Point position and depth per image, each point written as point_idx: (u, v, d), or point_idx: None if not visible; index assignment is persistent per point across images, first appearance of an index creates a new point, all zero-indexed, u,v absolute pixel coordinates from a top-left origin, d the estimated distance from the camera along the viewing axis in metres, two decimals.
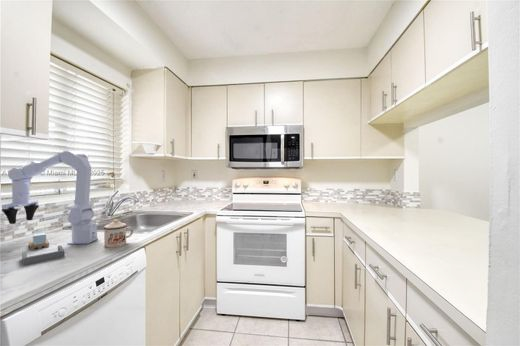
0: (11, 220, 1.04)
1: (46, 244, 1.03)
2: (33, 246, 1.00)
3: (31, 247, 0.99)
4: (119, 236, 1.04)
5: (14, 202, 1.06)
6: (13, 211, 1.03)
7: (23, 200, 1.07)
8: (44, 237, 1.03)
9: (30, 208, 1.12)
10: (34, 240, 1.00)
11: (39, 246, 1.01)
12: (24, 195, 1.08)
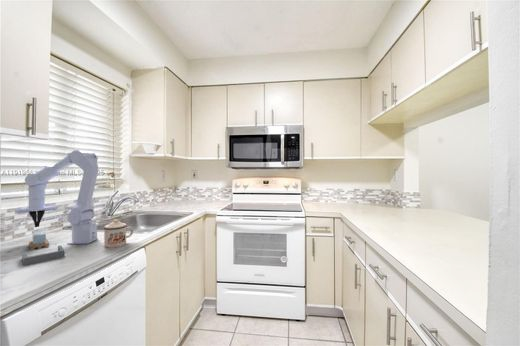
0: None
1: (46, 244, 1.03)
2: (33, 246, 1.00)
3: (31, 247, 0.99)
4: (119, 236, 1.04)
5: None
6: (31, 215, 1.08)
7: (33, 206, 1.08)
8: (43, 236, 1.03)
9: (37, 214, 1.11)
10: (34, 239, 1.01)
11: (39, 246, 1.01)
12: (34, 201, 1.08)
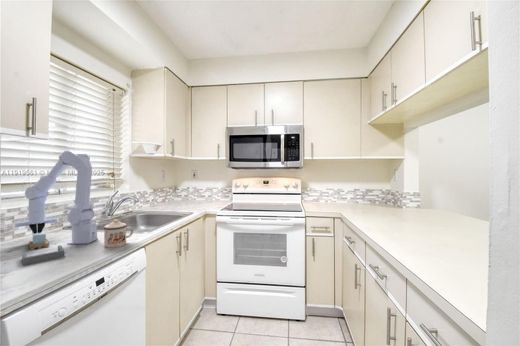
0: None
1: (46, 244, 1.03)
2: (33, 246, 1.00)
3: (31, 247, 0.99)
4: (119, 236, 1.04)
5: None
6: (31, 228, 1.08)
7: (34, 219, 1.08)
8: (43, 236, 1.03)
9: (37, 227, 1.10)
10: (34, 239, 1.01)
11: (39, 246, 1.01)
12: (34, 214, 1.08)
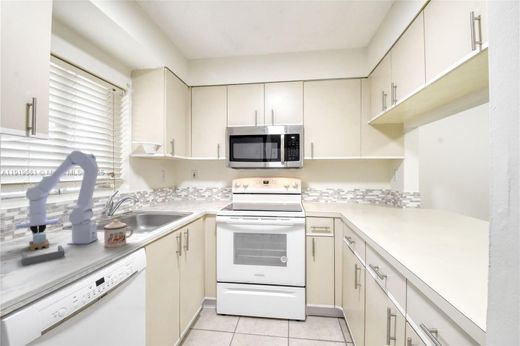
0: None
1: (46, 244, 1.02)
2: (33, 246, 0.99)
3: (31, 247, 0.98)
4: (119, 236, 1.04)
5: (29, 222, 1.05)
6: (32, 230, 1.04)
7: (34, 221, 1.05)
8: (44, 236, 1.03)
9: (38, 229, 1.07)
10: (34, 239, 1.00)
11: (39, 246, 1.00)
12: (35, 215, 1.05)
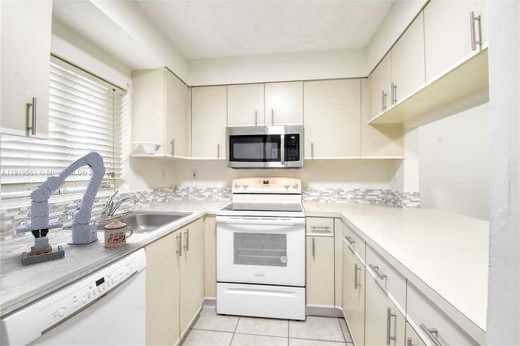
0: None
1: (49, 249, 0.95)
2: (35, 252, 0.92)
3: (33, 253, 0.92)
4: (119, 236, 1.04)
5: (31, 225, 0.98)
6: (34, 235, 0.97)
7: (36, 225, 0.98)
8: (46, 241, 0.96)
9: (40, 233, 1.00)
10: (36, 244, 0.94)
11: (41, 252, 0.93)
12: (37, 219, 0.98)
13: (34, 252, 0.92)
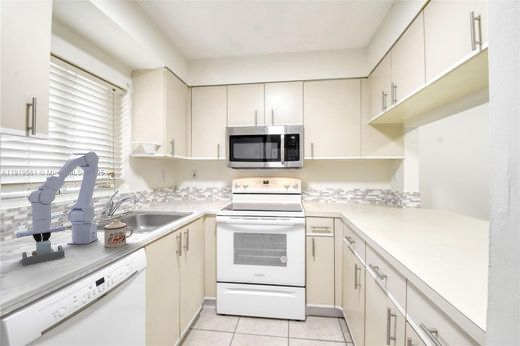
0: None
1: None
2: None
3: None
4: (119, 236, 1.04)
5: (32, 229, 0.93)
6: (35, 239, 0.92)
7: (38, 228, 0.92)
8: (48, 245, 0.91)
9: (42, 237, 0.94)
10: (38, 249, 0.88)
11: None
12: (39, 222, 0.92)
13: None
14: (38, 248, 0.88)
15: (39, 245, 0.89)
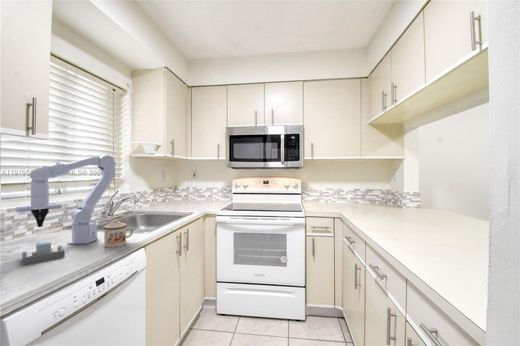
0: (37, 223, 1.00)
1: None
2: None
3: None
4: (119, 236, 1.04)
5: None
6: (34, 214, 0.97)
7: (36, 204, 0.97)
8: (48, 246, 0.91)
9: (40, 213, 1.00)
10: (38, 250, 0.88)
11: None
12: (37, 198, 0.98)
13: None
14: (38, 249, 0.89)
15: (39, 246, 0.89)
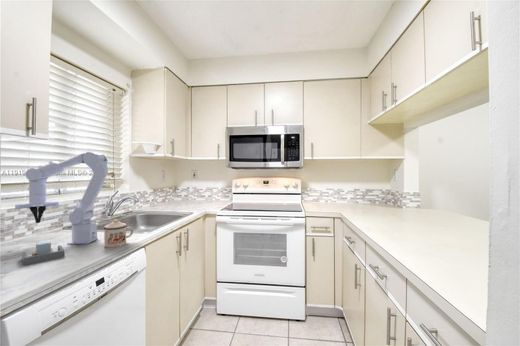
0: (35, 219, 1.07)
1: None
2: None
3: None
4: (119, 236, 1.04)
5: (29, 202, 1.05)
6: (32, 211, 1.04)
7: (34, 201, 1.05)
8: (48, 245, 0.91)
9: (38, 210, 1.07)
10: (37, 249, 0.89)
11: None
12: (35, 196, 1.05)
13: None
14: (38, 249, 0.89)
15: (39, 246, 0.89)
